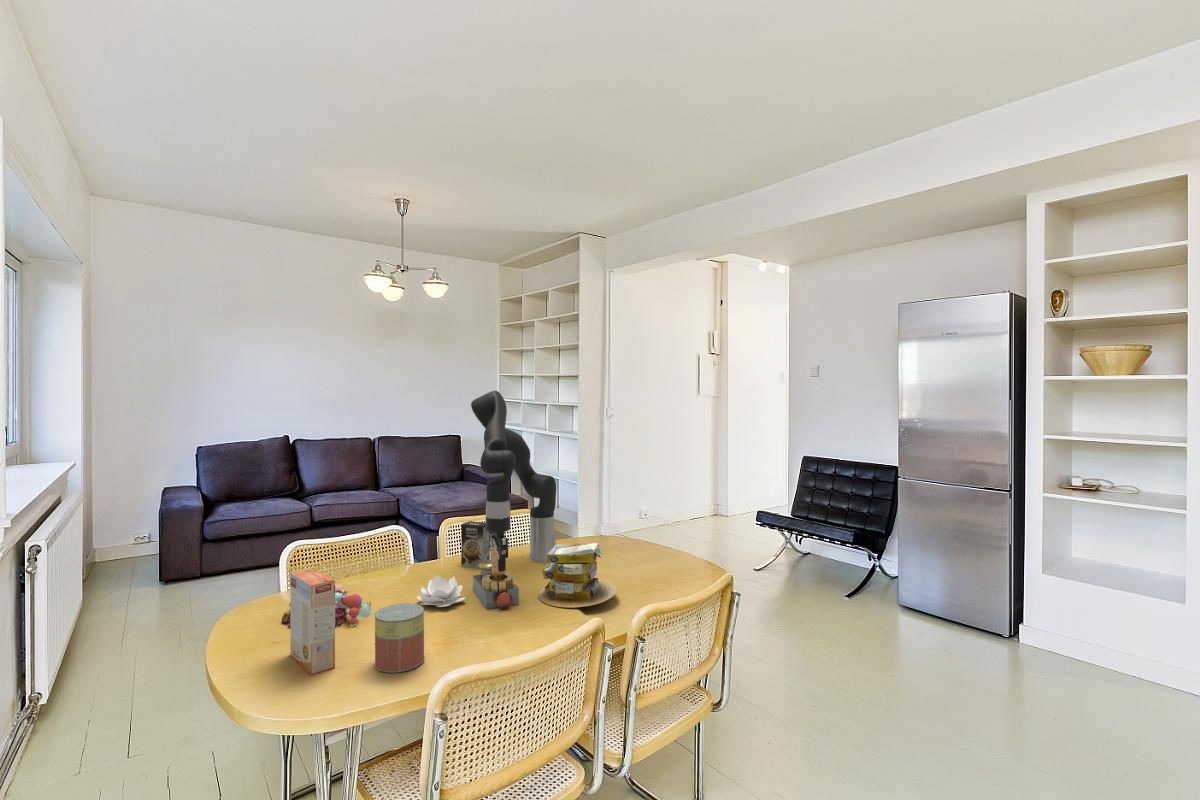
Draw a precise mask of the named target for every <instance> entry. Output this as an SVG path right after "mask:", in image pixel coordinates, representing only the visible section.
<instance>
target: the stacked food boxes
mask: <svg viewBox="0 0 1200 800" xmlns="http://www.w3.org/2000/svg"><path fill="white" fill-rule="evenodd" d="M601 549H602V548H601V547H600V545H599V543H598V542H593V543H586V544H585V543H584V544H581V543H580V544H579V543H575V544H556V545H555V546H554V547H553V548H552V549H551V550H550V551H549V552H548V554H547V558H548V562H547V563H548V564H547V565H546V566H545V567H544V568H542V575H543V579H544V580H549V581H548V583H547V584H546V585H544V586H543V587H542V588H540V589H539V591H538V593H537V598H538V599H539V600H540V601H541V602H542V603H544V604H546V605H549V606H552V607H558V608H582V607H590V606H594V605H597V604H598V605H599V604H601V603H605V602H606V601H608V600H609V599H611V598H612V597H614V596H615V594H616V593H617V586H616V585H615V584H614V583H613V582H611V581H610V580H607V579H605V578H600V577H596V575H597V570H598V564H597V561H598V558H602V556H603V551H602V550H601Z"/></svg>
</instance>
